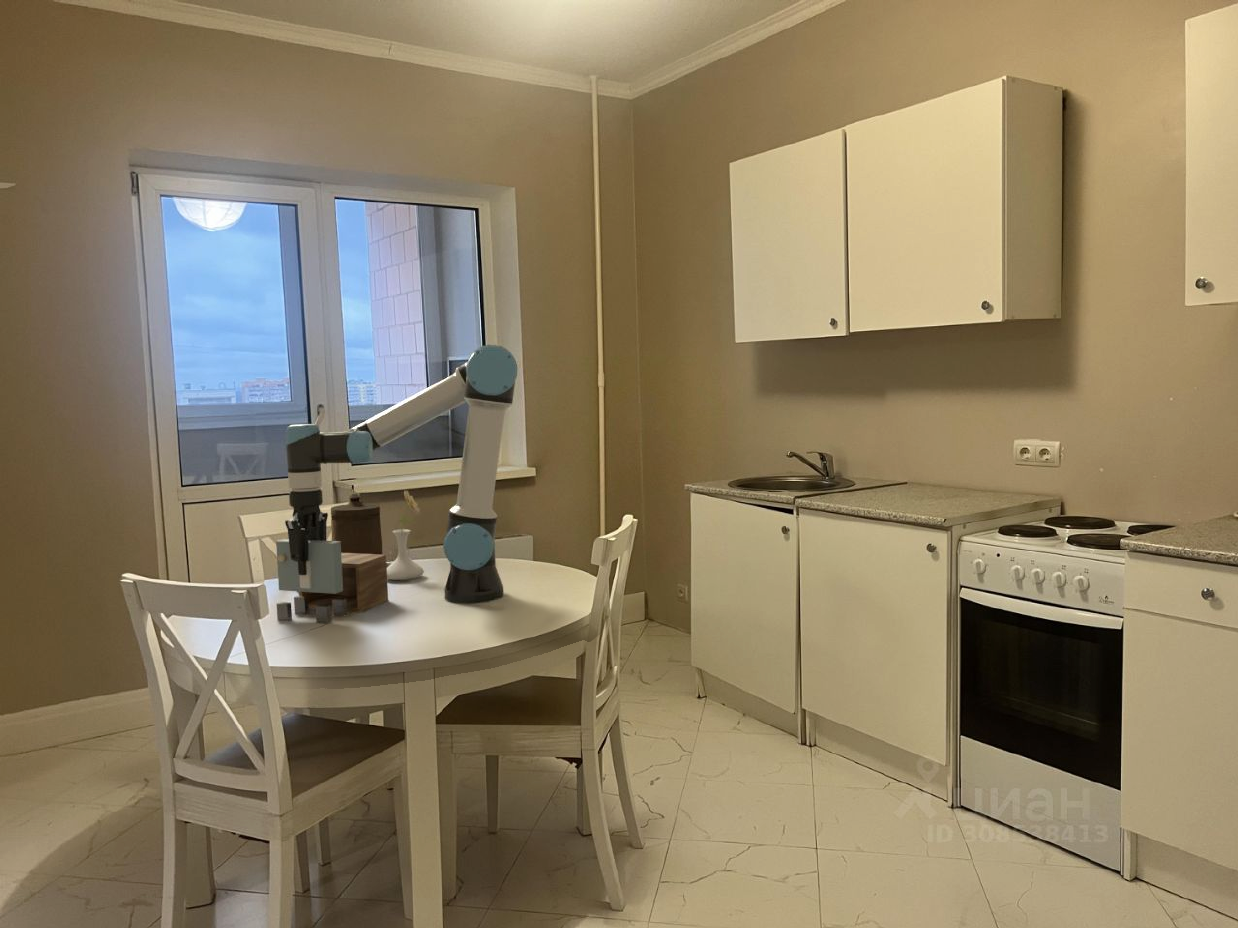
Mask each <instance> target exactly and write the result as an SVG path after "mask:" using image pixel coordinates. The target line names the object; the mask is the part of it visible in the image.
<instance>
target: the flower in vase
mask: <svg viewBox="0 0 1238 928" xmlns="http://www.w3.org/2000/svg"><path fill="white" fill-rule="evenodd" d="M403 494H404V498H405V500H406V502H407V505H406V507H405V509H404V511H403V513H402V519H399V520H398V521H397V524H396V526H398V527H401V528H400V529H395V530H392V534H393V535H395V539H396V542H397V546H398V548H397V549H398V552H397V553H398V554H397V557H396V558H395V559H394V560H393V562H392V563H391V564H389V566H388V567H387V580H393V581H406V580H413V579H417V578H419V577H421V576H423V574H424V573H425V571H424V569H423V567H422V566H421V565H419V564H418V563H417V562H415V561H414V560H413V559H412V558H410V557H409V556H408V552H407V551H408V550H407V541H408V536H409V535H410V533H411V529H404V528H403V527H404V525H405V524H406V525H410V519H409V518H408V517H407V516H405V513H406V511H407V509H408V507H409V508H410V509H411V510H412V512H413V513H415V514H416V515H420V512H421V510H420V509H419V507H418V506H419V505H418V503H417V502H416V501H415V500H414V497H413V495H410V493H409V490H404V492H403Z"/></svg>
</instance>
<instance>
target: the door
mask: <svg viewBox="0 0 1238 928" xmlns="http://www.w3.org/2000/svg"><path fill="white" fill-rule="evenodd" d="M275 544H276V545H275V546H276V547H275V548H276V561H277V562H276V563H277V578H278V591H283V592H284V591H285V592H298V593H299V592H315V593H332V594H336V593H339V592H342V591H343V579H342V559H341V541H332V540H326V541H320V540H308V560H307V561H310V568H311V586H312V588H310V589H309V588H300V577H299V573H298V562H297V561H294V560H291V554H290V546H289V538H283V539H278V540H276V542H275Z"/></svg>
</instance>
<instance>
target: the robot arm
mask: <svg viewBox="0 0 1238 928" xmlns="http://www.w3.org/2000/svg"><path fill="white" fill-rule="evenodd" d="M517 377H518V364H517V361H516V359H515V357H514V355H513V354H512V352H511V351H509V350H508V348H505V347H503V346H502V345H501V346H500V345H497V344H484V345H482V346H480V347H478V348H476V350H474V351H473V352H472V353H471V355H470V356H469V358H468V360H467V361H466V362H464V363H463V364H462V365H459V366H458V367H456V368H455V371H454V373H453V374H451V375H449V376H448V377H445V378H444V379H442V380H440V381H438V382H436V383H434V384H432V385H430V386H429V387H426V388H425V389H422V390H421V391H419V392H417V393H416V394H413V395H412V396H410V397H408V398H406V399H404V400H402V401H401V402H399V403H397V404H395V405H393V406H391V407H389V408H388V409H385V410H384V411H382V412H380V413H378V414H376V415H374V416H373V417H371V418H368V419H367V420H365V421H364V422H362V423H361V422H360V423H359V424H357V425H356V426H355V425H354V426H353V427H351V428H350V429H348V430H344V431H327V432H326V431H321V430H320V427H319V424H317V423H301V424H300V423H299V424H291V425H288V426H287V428H286V430H285V435H286V436H285V437H286V441H285V442H286V443H285V447H286V448H285V450H286V458H287V475H288V478H287V480H288V488H289V489H291V490H290V491H289V492H288V498H289V506H290V507H292V509H293V512H292V517H291V518H290V519H286V520H285V522H284V524H285V526H286V528H287V529H286V530H287V534H288V535H287V536H288V537H287V538H288V539H289V546H290V554H291V560H294V561H297V562H298V573H299V577H300V588H309V589H310V588H312V586H311V568H310V561H307V560H308V540H320V541H327V523H328V522H327V521H328V516H329V514H328V512H323V511H321V508H320V506H321V505H323V502H324V501H323V500H324V499H323V490H322V489H321V487H323V479H322V468H321V467H322V465H323V464H325V465H326V464H362V463H369V462H370V461H371V460H372V457H373V452H374V451H376V450H378V449H380V448H381V447H383V446H384V445H387V444H389V443H391V442H393V441H395V440H396V439H398V438H400V437H403V436H404V435H406V434H407V433H409V432H411V431H414V430H415V429H417V428H419V427H421V426H423V425H425V424H426V423H429V422H430V421H432V420H434V419H436V418H438V417H440V416H442V415H444V414H445V413H447V412H449V411H451V410H453V409H455V408H457V407H458V406H460V405H462V404H464V403H467V405H468V412H467V413H468V414H467V421H466V428H465V437H464V444H463V453H462V460H461V466H460V475H459V483H458V491H457V497H456V504H455V505H453V506H452V507H451V508H450V509H448V513H447V515H448V516H447V517H448V518H447V526H446V533H445V537H444V539H443V545H442V546H443V552H444V555H445V558H446V559H447V560H448V562H449V564H450V565H449V567H450V568H449V572H448V576H447V580H446V583H445V587H444V599H445V600H446V601H448V602H452V603H460V604H473V603H475V604H476V603H486V602H490V601H494V600H499V599H500V598H502V597H503V596H504V595H503V594H504V584H503V582H502V579H501V577H500V576H501V575H500V574H499V572H498V571H499V570H498V569H497V565H496V564H497V563H496V542H495V539H496V536H495V535H496V528H497V527H496V526H497V522H498V521H497V520H498V514H497V513H496V512H495V510H494V509H493V505H494V504H493V503H494V496H495V488H496V482H497V481H496V480H497V473H498V465H499V458H500V450H501V442H502V435H503V427H504V420H505V414H506V410H508V408H510V407H511V406H512V405H513V401H514V394H515V385H516V379H517Z"/></svg>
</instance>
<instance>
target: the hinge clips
mask: <svg viewBox="0 0 1238 928" xmlns="http://www.w3.org/2000/svg"><path fill="white" fill-rule="evenodd" d="M293 603H294V614H302V615H305V614H309V613H310V609H309V604H308V596H299V595H295V596H293ZM332 606H333V610H330V605H317V606H316V609H315V619H316V620H315V621H316V623H317V624H330V623H331V622H332V616H335V617H346V616H348V611H347V599H343V598H335V599H332ZM292 613H293V612H292V602H288V601H286V602H285V601H280V602H277V603H276V616H277V619H278V620H277V621H287V620H288V621H290V620H293V617H292V616H293V614H292ZM329 622H330V623H329Z"/></svg>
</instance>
